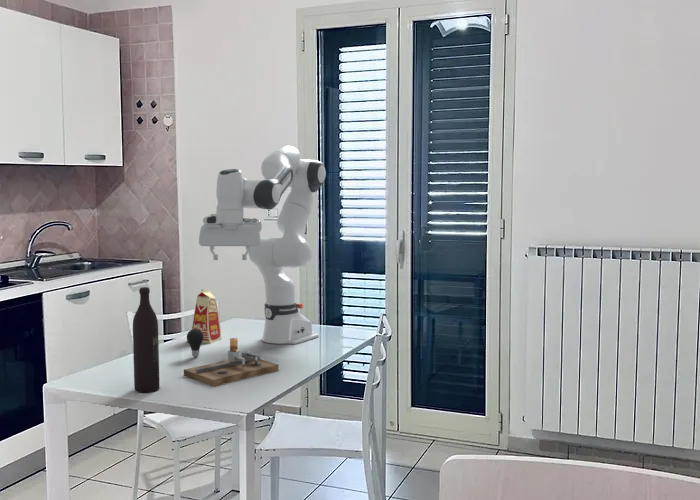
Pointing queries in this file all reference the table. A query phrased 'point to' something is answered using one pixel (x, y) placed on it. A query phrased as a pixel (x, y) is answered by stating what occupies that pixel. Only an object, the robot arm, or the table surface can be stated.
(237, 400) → the table surface
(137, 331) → the wine bottle
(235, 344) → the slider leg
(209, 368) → the bar
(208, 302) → the milk carton
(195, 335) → the black light bulb
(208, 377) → the brown wooden board
